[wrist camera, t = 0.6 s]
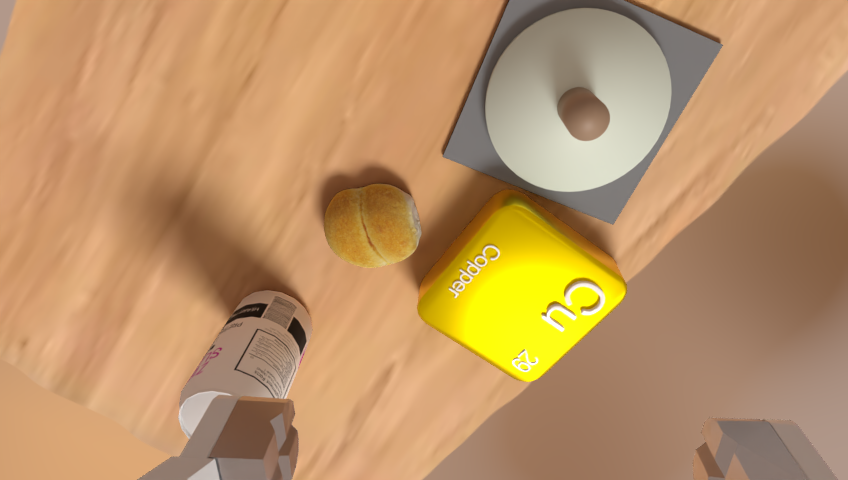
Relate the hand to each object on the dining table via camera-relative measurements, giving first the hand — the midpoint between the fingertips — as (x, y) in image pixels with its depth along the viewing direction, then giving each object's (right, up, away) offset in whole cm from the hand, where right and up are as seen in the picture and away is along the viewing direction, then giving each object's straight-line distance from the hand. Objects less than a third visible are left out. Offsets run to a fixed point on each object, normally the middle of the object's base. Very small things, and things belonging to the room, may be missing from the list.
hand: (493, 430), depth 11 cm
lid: (+11, +15, +36) cm, 40 cm away
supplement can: (-17, -5, +48) cm, 51 cm away
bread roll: (-6, +6, +42) cm, 43 cm away
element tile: (+8, 0, +44) cm, 45 cm away
